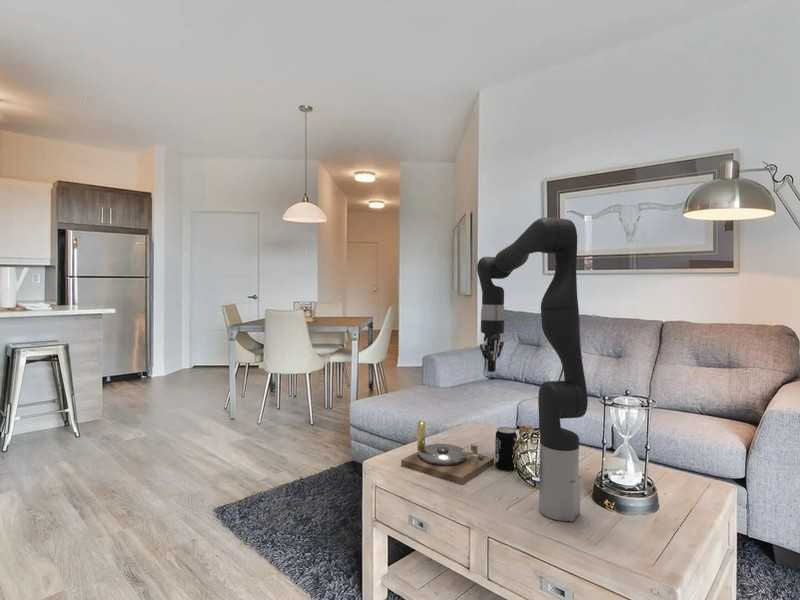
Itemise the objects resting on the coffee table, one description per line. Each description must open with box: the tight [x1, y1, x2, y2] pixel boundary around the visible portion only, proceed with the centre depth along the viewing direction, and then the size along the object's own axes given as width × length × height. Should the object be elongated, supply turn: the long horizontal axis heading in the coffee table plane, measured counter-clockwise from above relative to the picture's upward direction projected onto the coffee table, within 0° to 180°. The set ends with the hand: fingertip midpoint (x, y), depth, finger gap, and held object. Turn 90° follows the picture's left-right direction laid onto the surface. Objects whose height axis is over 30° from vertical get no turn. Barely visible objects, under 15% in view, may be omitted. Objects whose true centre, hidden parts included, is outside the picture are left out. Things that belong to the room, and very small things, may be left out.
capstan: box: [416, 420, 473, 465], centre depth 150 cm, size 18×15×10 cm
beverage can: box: [494, 426, 518, 472], centre depth 148 cm, size 7×7×12 cm
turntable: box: [400, 442, 495, 486], centre depth 149 cm, size 22×20×5 cm
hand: (491, 371), depth 154 cm, fingers closed
